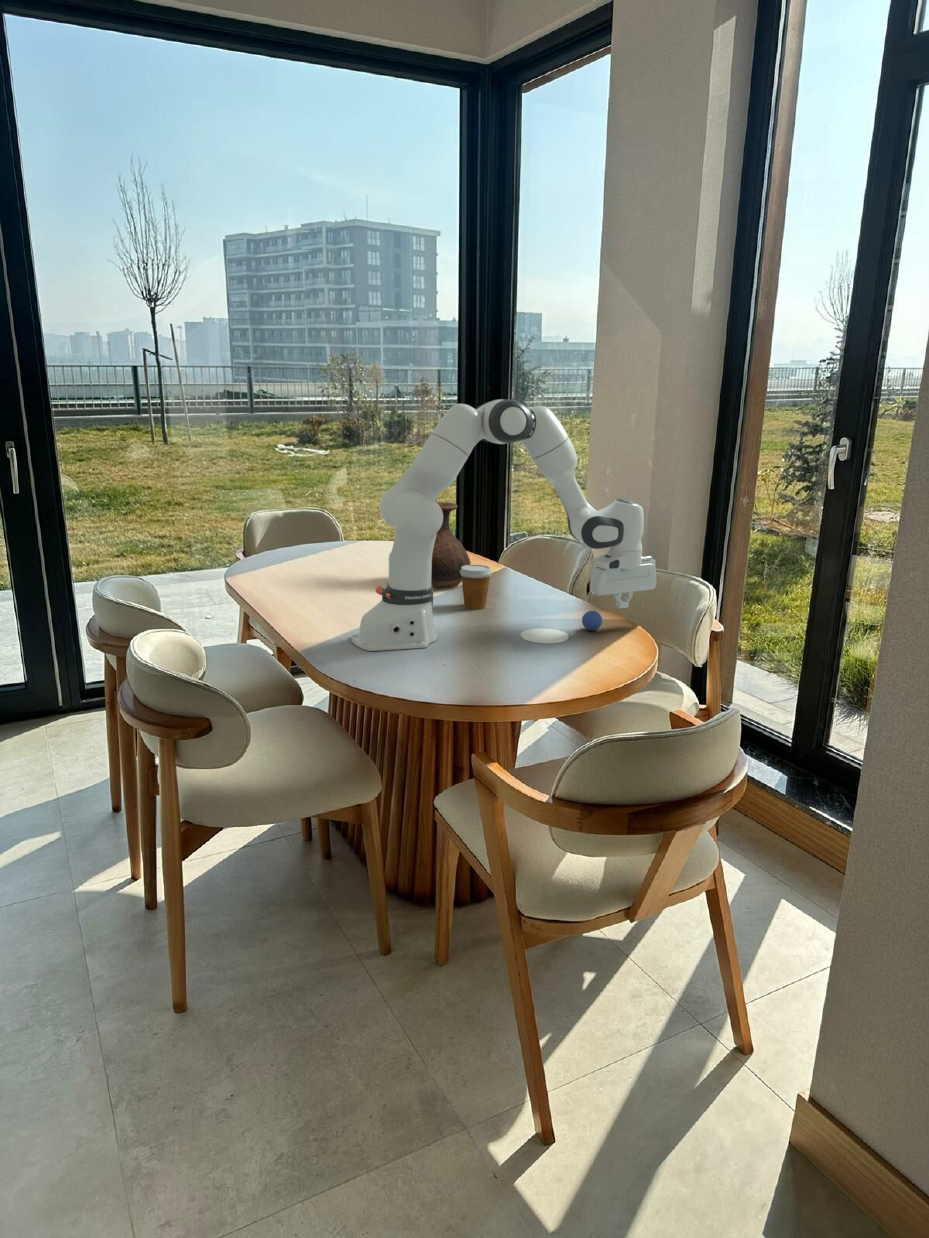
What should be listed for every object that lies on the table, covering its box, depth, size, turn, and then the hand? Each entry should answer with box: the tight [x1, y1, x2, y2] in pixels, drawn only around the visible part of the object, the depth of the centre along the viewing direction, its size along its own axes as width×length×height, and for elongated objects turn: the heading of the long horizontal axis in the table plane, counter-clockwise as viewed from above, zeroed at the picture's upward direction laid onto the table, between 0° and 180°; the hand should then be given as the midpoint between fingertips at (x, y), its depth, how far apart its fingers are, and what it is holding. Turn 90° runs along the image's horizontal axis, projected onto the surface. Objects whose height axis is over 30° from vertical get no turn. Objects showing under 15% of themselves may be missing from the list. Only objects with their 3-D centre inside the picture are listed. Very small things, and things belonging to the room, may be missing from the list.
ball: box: [581, 610, 603, 632], centre depth 238 cm, size 6×6×6 cm
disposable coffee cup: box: [460, 564, 493, 610], centre depth 259 cm, size 10×10×12 cm
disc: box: [520, 628, 570, 645], centre depth 233 cm, size 13×13×1 cm
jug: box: [431, 498, 472, 590], centre depth 283 cm, size 22×22×30 cm
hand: (622, 607), depth 242 cm, fingers closed
